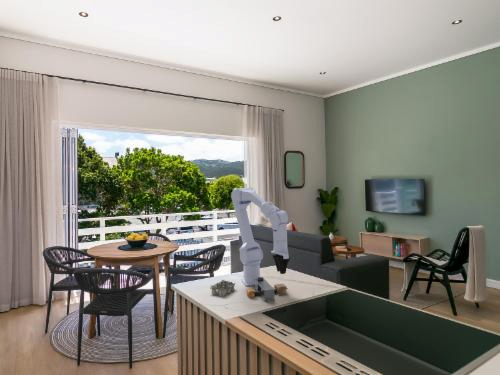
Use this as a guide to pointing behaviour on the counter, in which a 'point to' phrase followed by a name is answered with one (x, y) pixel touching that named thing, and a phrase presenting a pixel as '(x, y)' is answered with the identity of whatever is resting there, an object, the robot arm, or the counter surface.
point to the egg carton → (222, 287)
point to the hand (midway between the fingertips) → (281, 272)
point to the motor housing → (264, 289)
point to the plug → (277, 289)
